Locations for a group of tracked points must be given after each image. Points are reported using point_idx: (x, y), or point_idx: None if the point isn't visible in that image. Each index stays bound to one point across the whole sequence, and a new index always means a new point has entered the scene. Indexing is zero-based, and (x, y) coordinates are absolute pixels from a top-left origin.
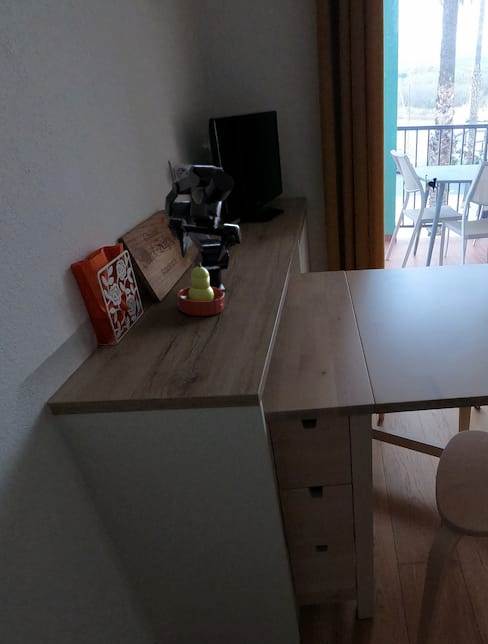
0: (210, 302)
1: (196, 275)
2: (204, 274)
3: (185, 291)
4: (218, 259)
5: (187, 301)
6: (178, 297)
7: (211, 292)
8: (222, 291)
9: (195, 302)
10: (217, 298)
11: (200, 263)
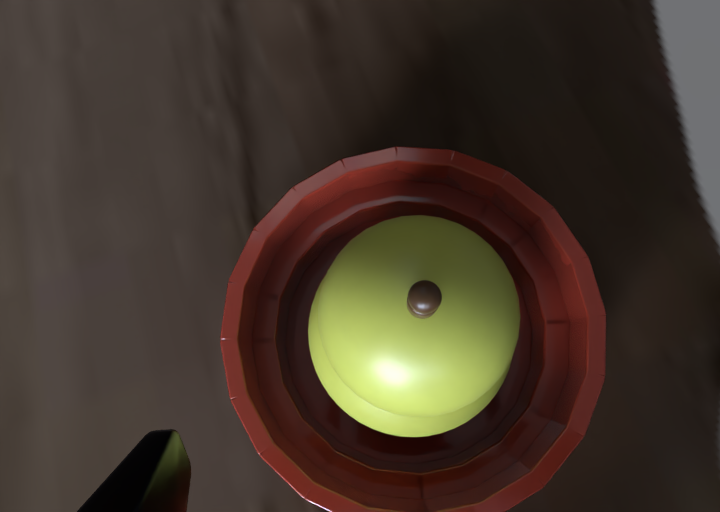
0: (286, 196)
1: (423, 215)
2: (342, 253)
3: (571, 387)
4: (148, 442)
5: (449, 153)
6: (547, 206)
7: (312, 315)
8: (257, 440)
9: (386, 151)
10: (250, 266)
11: (410, 295)
